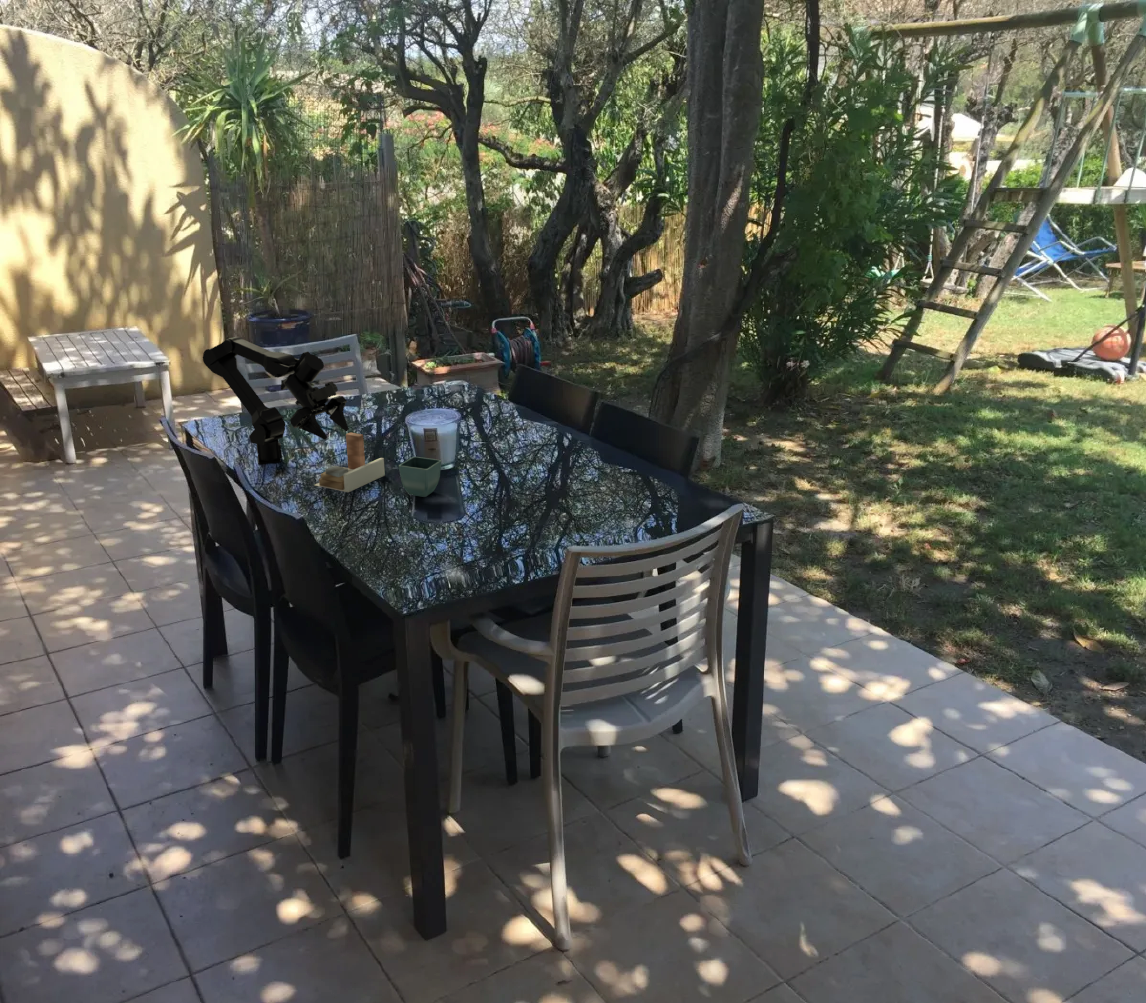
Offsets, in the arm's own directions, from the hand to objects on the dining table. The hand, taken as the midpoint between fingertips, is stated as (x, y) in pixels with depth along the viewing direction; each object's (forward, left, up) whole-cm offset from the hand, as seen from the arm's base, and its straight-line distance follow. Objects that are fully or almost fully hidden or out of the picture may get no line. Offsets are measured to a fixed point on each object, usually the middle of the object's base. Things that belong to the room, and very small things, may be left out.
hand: (337, 434), depth 280 cm
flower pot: (+19, -23, -12) cm, 32 cm away
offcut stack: (-2, -11, -11) cm, 16 cm away
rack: (+2, -8, -12) cm, 15 cm away
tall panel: (+4, -4, -11) cm, 13 cm away
